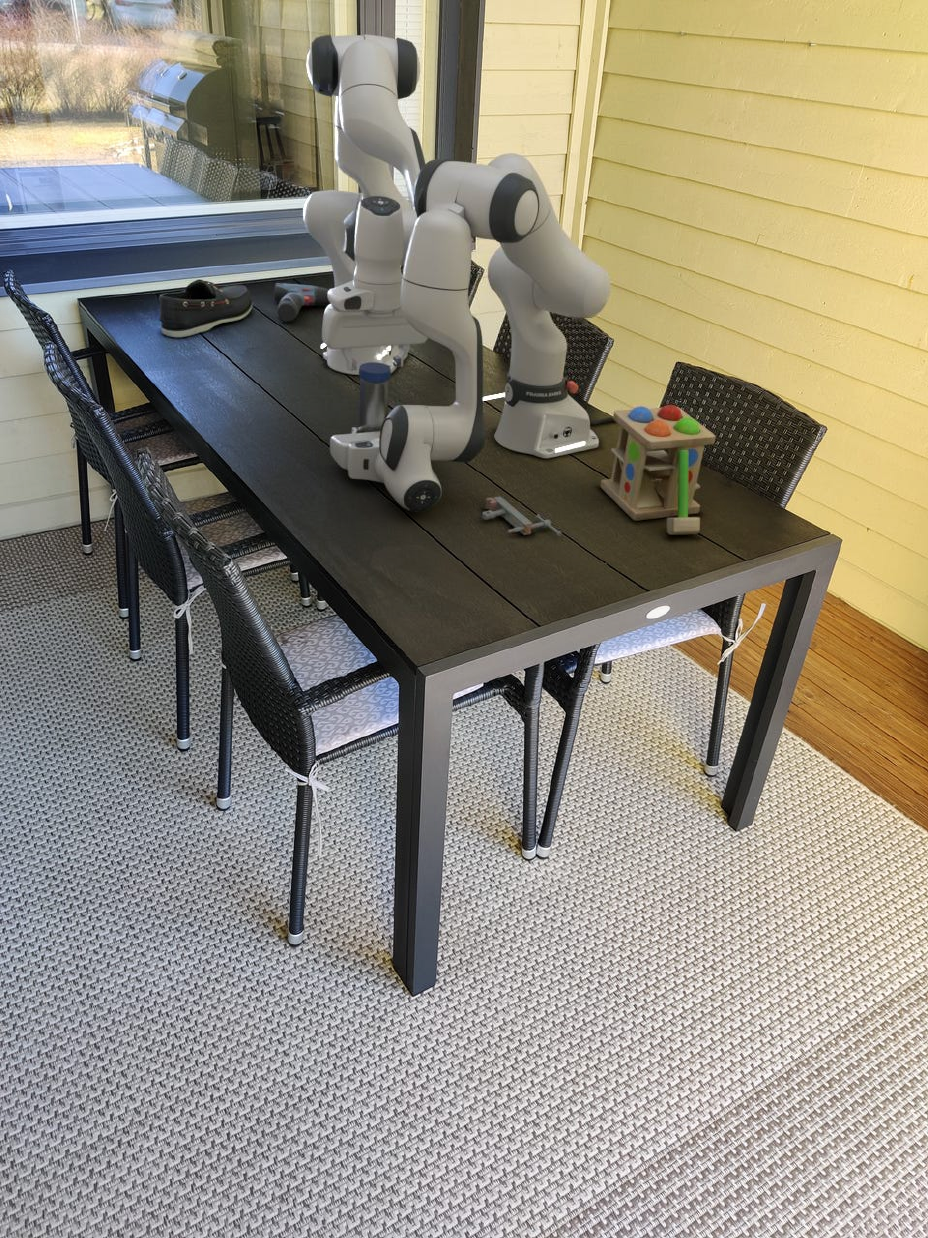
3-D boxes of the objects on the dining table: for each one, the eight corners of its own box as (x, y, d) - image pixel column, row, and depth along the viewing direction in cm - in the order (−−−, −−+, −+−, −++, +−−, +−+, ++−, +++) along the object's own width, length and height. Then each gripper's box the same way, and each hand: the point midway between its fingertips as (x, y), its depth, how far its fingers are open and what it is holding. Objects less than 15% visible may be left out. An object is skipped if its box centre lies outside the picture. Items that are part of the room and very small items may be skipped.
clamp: (472, 500, 179) (518, 491, 183) (471, 511, 180) (516, 501, 185) (516, 538, 168) (563, 528, 173) (514, 550, 170) (562, 539, 174)
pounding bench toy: (723, 535, 180) (747, 445, 170) (656, 543, 176) (676, 451, 166) (661, 480, 198) (680, 395, 188) (598, 486, 193) (614, 400, 183)
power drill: (335, 306, 256) (344, 285, 273) (264, 300, 255) (277, 279, 272) (335, 327, 259) (344, 304, 276) (264, 320, 258) (277, 299, 275)
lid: (389, 384, 185) (390, 374, 184) (357, 381, 185) (357, 372, 184) (391, 372, 190) (391, 363, 189) (359, 370, 190) (360, 360, 189)
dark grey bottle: (385, 461, 195) (388, 376, 185) (357, 459, 194) (359, 373, 184) (386, 450, 199) (389, 365, 189) (359, 448, 199) (361, 363, 189)
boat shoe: (271, 314, 265) (269, 274, 259) (179, 339, 241) (175, 296, 235) (235, 305, 270) (233, 266, 265) (143, 329, 246) (138, 287, 241)
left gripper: (423, 287, 185) (418, 358, 193) (319, 291, 177) (318, 365, 185) (436, 296, 181) (431, 369, 188) (330, 301, 173) (329, 377, 180)
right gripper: (446, 438, 186) (421, 410, 197) (342, 448, 179) (322, 418, 189) (444, 468, 190) (419, 439, 200) (342, 479, 182) (322, 448, 193)
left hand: (374, 367), depth 187 cm, fingers open, 8 cm apart
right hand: (371, 429), depth 195 cm, fingers closed on dark grey bottle, 5 cm apart
